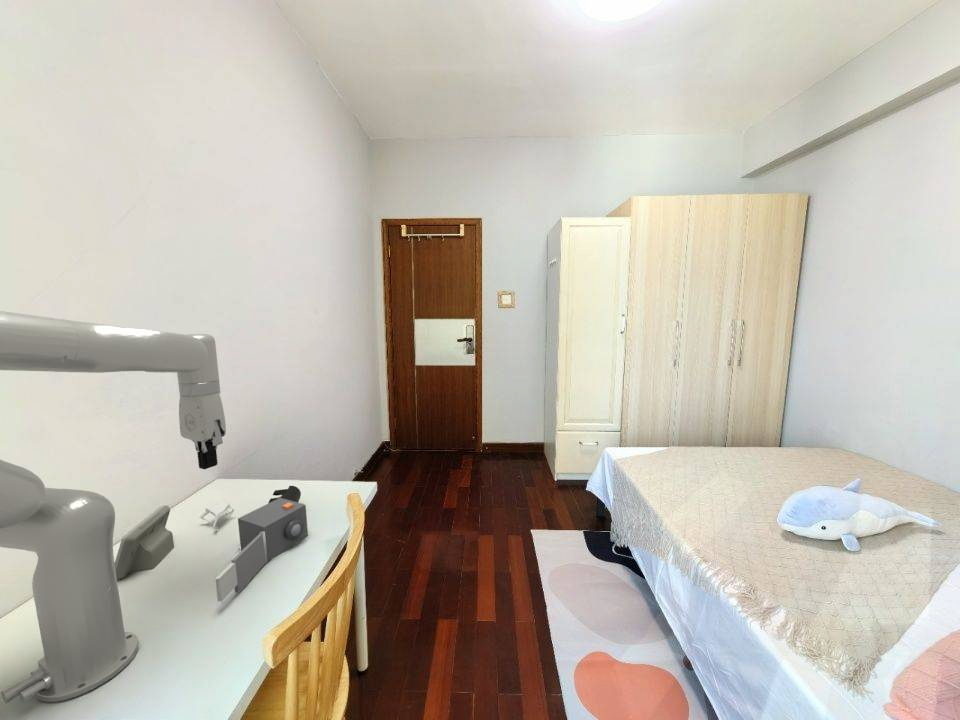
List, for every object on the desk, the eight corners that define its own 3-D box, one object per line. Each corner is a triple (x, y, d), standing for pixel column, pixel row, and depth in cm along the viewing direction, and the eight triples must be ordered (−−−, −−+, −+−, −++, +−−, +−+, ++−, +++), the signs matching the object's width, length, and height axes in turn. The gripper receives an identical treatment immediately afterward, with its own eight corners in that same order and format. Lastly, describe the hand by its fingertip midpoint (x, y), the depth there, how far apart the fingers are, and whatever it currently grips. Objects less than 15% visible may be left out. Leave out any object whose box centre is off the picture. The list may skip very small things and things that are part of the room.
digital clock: (155, 541, 105) (151, 503, 104) (189, 540, 105) (185, 503, 104) (97, 583, 89) (90, 539, 88) (136, 582, 89) (130, 539, 88)
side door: (268, 560, 95) (265, 531, 94) (223, 610, 79) (219, 576, 78) (263, 560, 95) (261, 531, 94) (217, 610, 79) (214, 576, 78)
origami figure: (199, 521, 115) (197, 505, 114) (232, 511, 120) (231, 496, 119) (201, 539, 106) (200, 522, 105) (238, 528, 111) (236, 512, 110)
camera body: (271, 563, 95) (268, 525, 94) (241, 551, 100) (237, 515, 98) (311, 537, 106) (309, 502, 104) (282, 527, 110) (279, 494, 109)
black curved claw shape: (296, 520, 114) (294, 498, 114) (269, 524, 113) (267, 502, 112) (301, 504, 124) (300, 484, 123) (277, 507, 122) (275, 487, 121)
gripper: (162, 389, 88) (171, 467, 90) (202, 394, 82) (211, 478, 84) (198, 383, 95) (206, 456, 97) (237, 388, 89) (245, 465, 91)
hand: (208, 466), depth 91 cm, fingers closed
